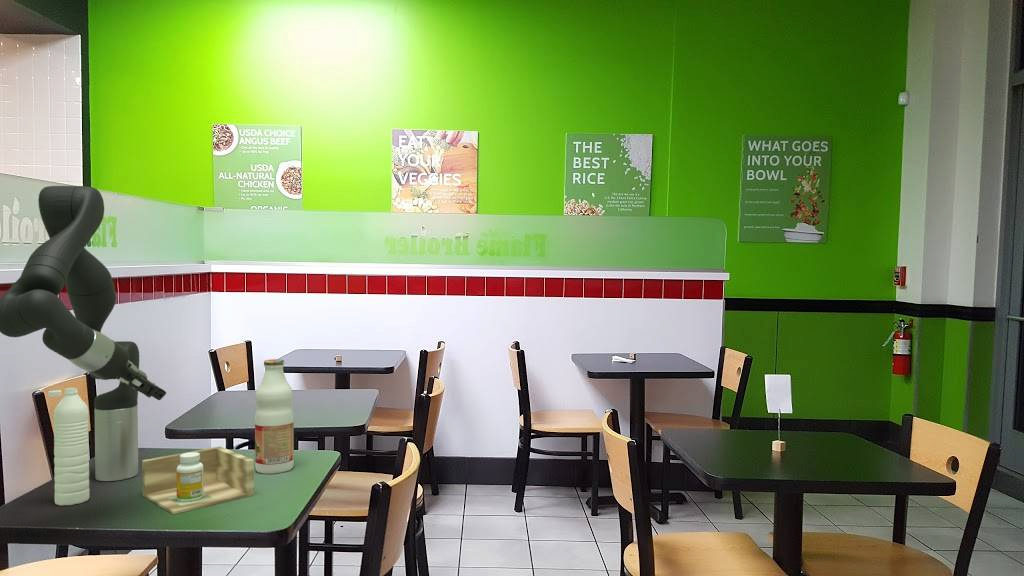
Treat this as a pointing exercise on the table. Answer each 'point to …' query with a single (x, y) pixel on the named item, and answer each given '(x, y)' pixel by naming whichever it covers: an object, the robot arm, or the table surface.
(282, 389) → the fruit juice
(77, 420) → the water bottle
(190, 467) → the supplement bottle
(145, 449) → the table surface
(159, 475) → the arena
